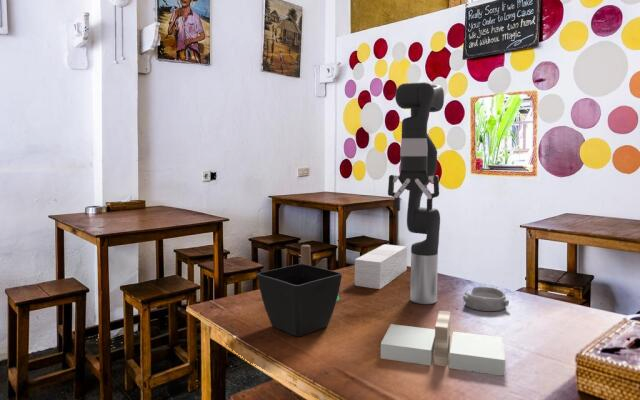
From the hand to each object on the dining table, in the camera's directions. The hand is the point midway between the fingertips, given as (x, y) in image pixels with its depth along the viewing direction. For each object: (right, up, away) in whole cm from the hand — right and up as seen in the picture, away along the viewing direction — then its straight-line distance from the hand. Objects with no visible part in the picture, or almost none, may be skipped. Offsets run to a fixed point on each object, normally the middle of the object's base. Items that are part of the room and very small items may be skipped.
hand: (413, 211), depth 135 cm
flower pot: (-33, -36, +9) cm, 49 cm away
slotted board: (+5, -38, -11) cm, 40 cm away
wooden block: (-29, -32, +41) cm, 60 cm away
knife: (-23, -34, +28) cm, 50 cm away
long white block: (-1, -30, +62) cm, 69 cm away
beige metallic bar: (+5, -38, -11) cm, 40 cm away
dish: (+30, -34, +26) cm, 52 cm away
